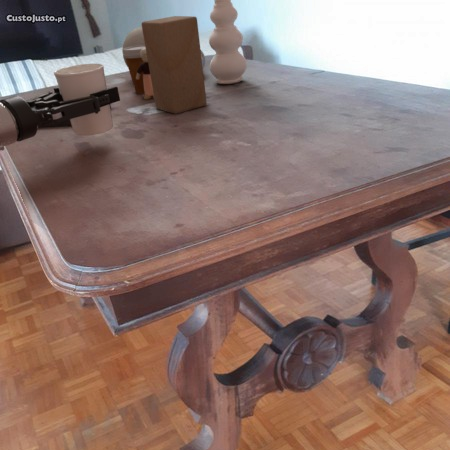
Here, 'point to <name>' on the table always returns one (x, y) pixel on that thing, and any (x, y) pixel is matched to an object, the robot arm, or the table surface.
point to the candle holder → (82, 87)
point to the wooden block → (175, 63)
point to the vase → (226, 44)
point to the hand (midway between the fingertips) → (102, 91)
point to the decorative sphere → (133, 39)
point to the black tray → (64, 123)
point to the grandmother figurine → (145, 75)
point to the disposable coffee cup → (135, 66)
